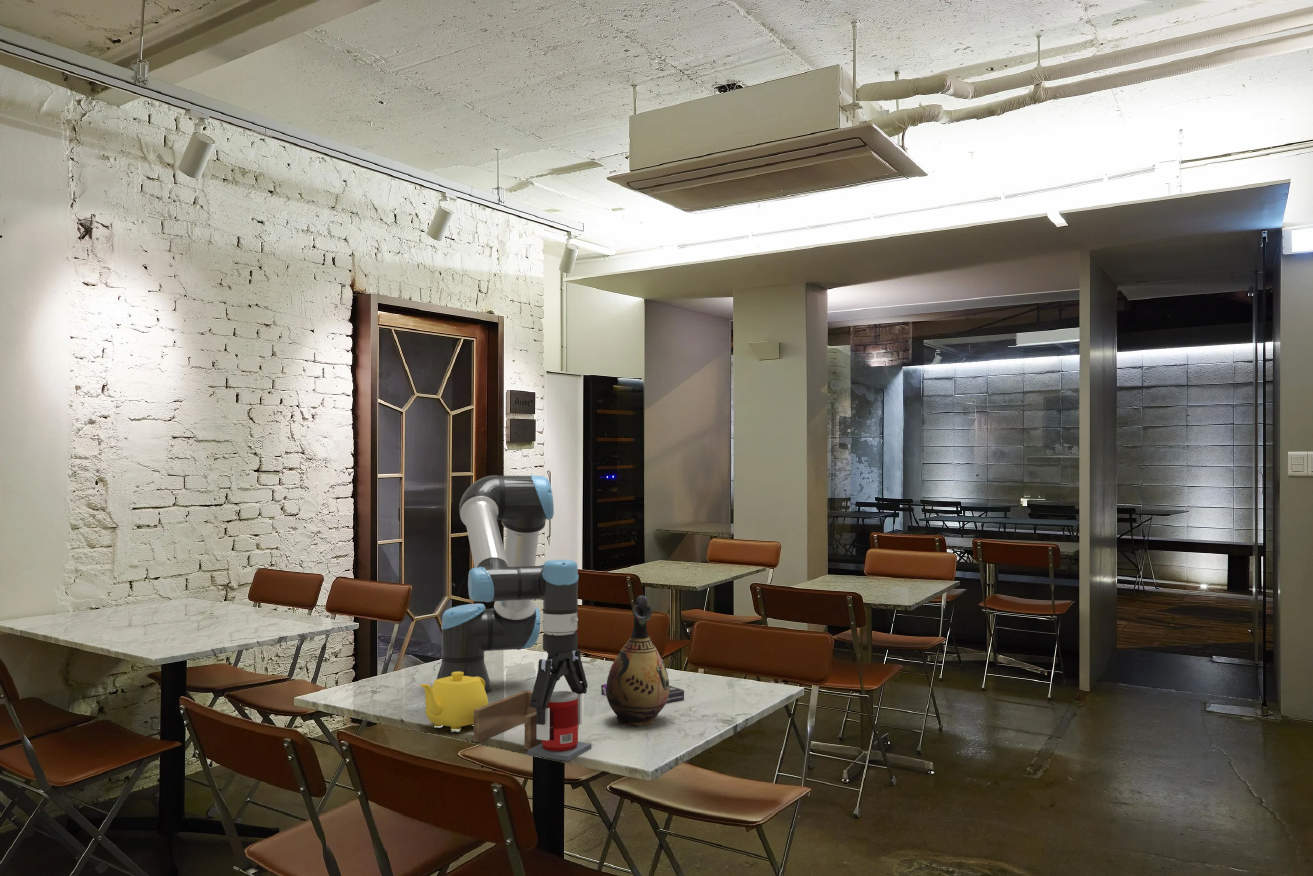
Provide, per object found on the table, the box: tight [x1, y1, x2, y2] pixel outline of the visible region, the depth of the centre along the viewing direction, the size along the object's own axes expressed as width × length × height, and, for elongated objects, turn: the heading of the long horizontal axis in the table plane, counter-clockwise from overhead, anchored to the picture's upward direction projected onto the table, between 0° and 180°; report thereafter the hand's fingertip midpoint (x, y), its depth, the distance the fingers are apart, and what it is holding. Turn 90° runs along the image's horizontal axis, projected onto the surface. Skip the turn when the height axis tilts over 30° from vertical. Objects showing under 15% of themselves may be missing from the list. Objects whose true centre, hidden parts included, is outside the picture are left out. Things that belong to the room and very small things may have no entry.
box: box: [600, 683, 685, 705], centre depth 247 cm, size 14×4×20 cm
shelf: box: [472, 690, 580, 750], centre depth 212 cm, size 15×21×7 cm
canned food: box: [542, 690, 579, 751], centre depth 198 cm, size 8×8×11 cm
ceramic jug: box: [605, 594, 670, 728], centre depth 224 cm, size 17×15×30 cm
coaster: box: [526, 741, 592, 762], centre depth 198 cm, size 10×10×1 cm
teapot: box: [419, 671, 489, 730], centre depth 217 cm, size 14×20×13 cm
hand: (559, 731), depth 198 cm, fingers open, 13 cm apart
